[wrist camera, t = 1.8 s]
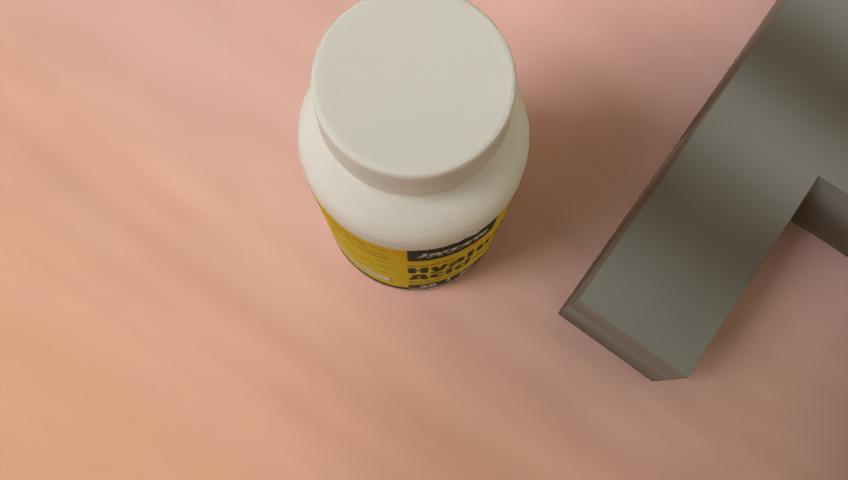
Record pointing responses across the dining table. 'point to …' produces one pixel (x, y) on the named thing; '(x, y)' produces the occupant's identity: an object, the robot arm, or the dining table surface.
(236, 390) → the dining table surface
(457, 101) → the supplement bottle
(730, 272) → the notched board
